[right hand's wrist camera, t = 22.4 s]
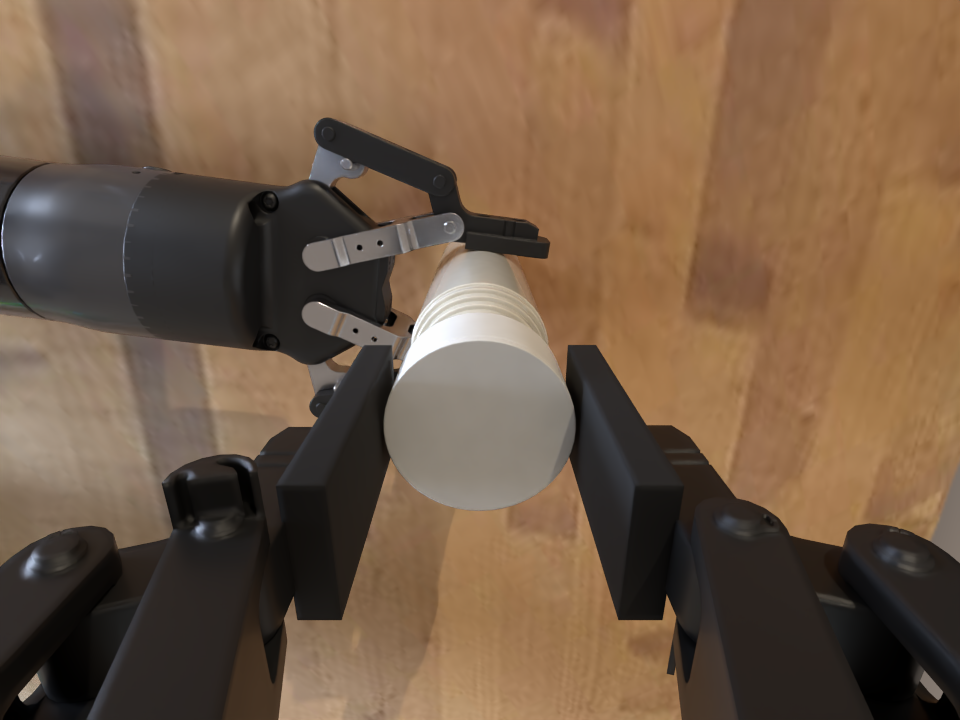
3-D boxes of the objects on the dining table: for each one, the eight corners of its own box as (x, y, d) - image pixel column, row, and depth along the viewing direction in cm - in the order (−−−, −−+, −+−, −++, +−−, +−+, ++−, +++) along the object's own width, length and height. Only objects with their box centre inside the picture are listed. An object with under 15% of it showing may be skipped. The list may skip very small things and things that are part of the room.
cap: (511, 280, 13) (517, 302, 11) (589, 417, 15) (608, 460, 13) (364, 364, 14) (344, 400, 12) (452, 486, 16) (448, 538, 13)
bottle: (453, 217, 30) (415, 303, 12) (530, 244, 30) (602, 362, 12) (430, 293, 31) (366, 469, 14) (503, 317, 32) (534, 516, 14)
